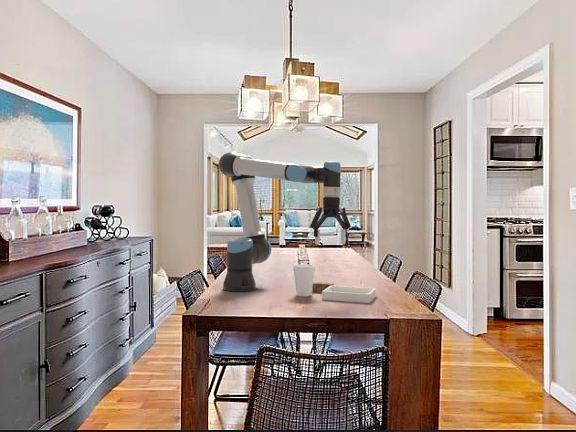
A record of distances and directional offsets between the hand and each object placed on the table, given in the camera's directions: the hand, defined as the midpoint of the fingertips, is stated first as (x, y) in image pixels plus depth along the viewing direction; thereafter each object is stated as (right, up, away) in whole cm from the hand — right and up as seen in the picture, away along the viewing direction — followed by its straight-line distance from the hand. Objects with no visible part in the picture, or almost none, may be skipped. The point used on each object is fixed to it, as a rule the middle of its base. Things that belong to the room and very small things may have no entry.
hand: (330, 244), depth 232 cm
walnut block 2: (-1, -22, +3) cm, 22 cm away
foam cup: (-12, -22, -5) cm, 26 cm away
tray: (+7, -22, -11) cm, 26 cm away
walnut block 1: (-6, -22, +4) cm, 23 cm away
